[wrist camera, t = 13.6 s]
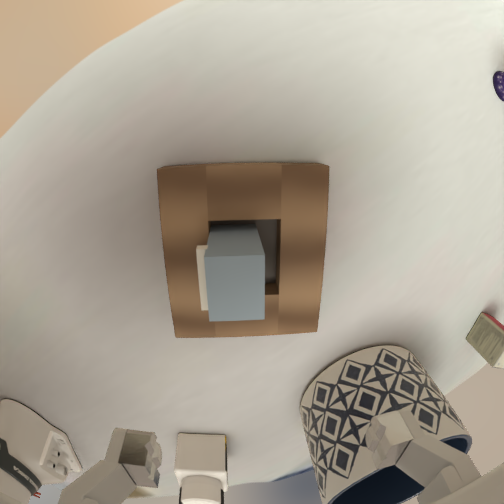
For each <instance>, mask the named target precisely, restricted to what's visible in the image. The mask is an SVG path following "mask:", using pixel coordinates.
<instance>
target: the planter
mask: <svg viewBox="0 0 504 504" xmlns="http://www.w3.org/2000/svg"><path fill="white" fill-rule="evenodd" d="M404 408H409V409H410V410H411V412H412V414H413V415H414V417H415V419H416V421H417V422H418V424H419V426H420V427H421V429H422V431H423V432H424V434H425V435H430V436H432V437H434V438H436V439H438V440H439V441H441V442H443V443H445V444H447V445H449V446H451V447H453V448H455V449H457V450H459V451H461V452H463V453H465V454H467V453H468V451H469V450H470V447H471V444H472V437H471V436H470V434H469V432H468V431H467V429H466V428H465V426H464V425H463V423H462V422H461V420H460V419H459V417H458V416H457V414H456V413H455V411H454V410H453V408H452V407H451V405H450V404H449V403H448V401H447V400H446V398H445V397H444V395H443V394H442V392H441V391H440V390H439V388H438V387H437V386H436V384H435V383H434V381H433V380H432V379H431V377H430V376H429V375H428V373H427V372H426V370H425V369H424V368H423V366H422V365H421V364H420V362H419V361H418V360H417V359H416V357H415V356H414V355H413V354H412V353H411V352H410V351H409V350H407V349H404V348H402V347H398V346H388V345H384V346H375V347H371V348H367V349H363V350H361V351H358V352H355V353H353V354H351V355H348V356H346V357H344V358H342V359H341V360H339V361H337V362H336V363H334V364H332V365H331V366H330V367H328V368H327V369H326V370H324V371H323V372H322V373H321V374H320V375H319V376H318V377H317V378H316V379H315V380H314V381H313V382H312V383H311V384H310V386H309V387H308V389H307V390H306V392H305V394H304V396H303V398H302V401H301V406H300V414H301V418H302V423H303V427H304V431H305V435H306V439H307V443H308V447H309V451H310V455H311V459H312V464H313V468H314V471H315V476H316V479H317V484H318V488H319V491H320V496H321V500H322V503H323V504H401V503H403V502H405V501H407V500H409V499H411V498H413V497H415V496H417V495H419V494H420V493H421V492H422V491H423V490H424V489H425V487H424V486H422V485H421V484H419V483H418V482H417V481H415V480H414V479H413V478H411V477H410V476H409V475H407V474H406V473H404V472H403V471H402V470H401V469H399V468H398V467H397V466H395V465H392V466H389V467H385V468H381V469H376V467H375V464H374V462H373V459H372V455H373V453H374V452H372V451H371V450H369V449H368V447H367V444H366V440H365V439H366V431H367V429H368V428H369V427H370V426H371V422H370V421H371V419H372V417H374V416H376V415H380V414H384V413H388V412H392V411H397V410H400V409H404Z"/></svg>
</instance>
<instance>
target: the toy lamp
mask: <svg viewBox="0 0 504 504" xmlns="http://www.w3.org/2000/svg"><path fill="white" fill-rule="evenodd" d="M493 82H494V87H495V90H496V93H497V95H498V96H499V98H500V99H501V100H502V101H504V72H501V71H498V72H496V73H495V74H494V79H493Z"/></svg>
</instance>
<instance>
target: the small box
mask: <svg viewBox="0 0 504 504" xmlns="http://www.w3.org/2000/svg"><path fill="white" fill-rule="evenodd" d="M466 340H467V341H468V342H469V343H470V344H471V345H472V346H473V347H474V348H475V349H476V350H477V351H478V353H479V354H480V355H481V356H482V357H483V358H484V359H485V360H486V361H487V362H488V363H489V364H490V365H491V366H492V367H493V368H500V369H504V326H503V325H502V324H501V323H500V322H499V321H497V320H496V319H495V318H494V317H492V316H490V315H488V314H486V313H483V312H482V313H481V314H480V316H479V318H478V319H477V321H476V323H475V324H474V326H473V328H472V329H471V331H470V333H469V335H468V336H467V338H466Z"/></svg>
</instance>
